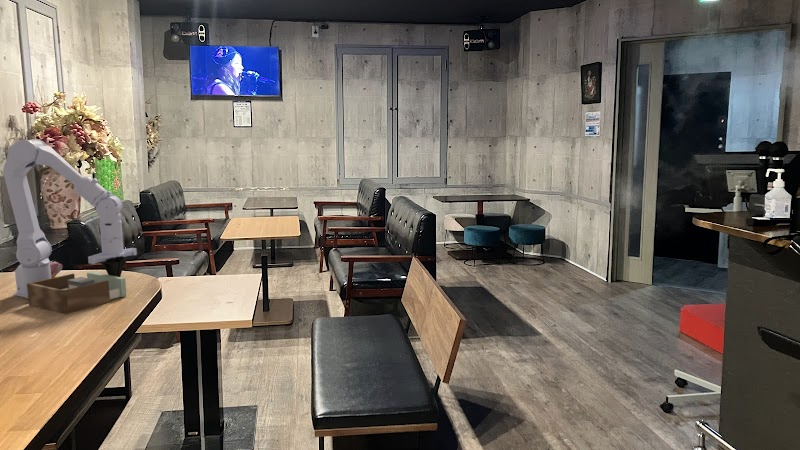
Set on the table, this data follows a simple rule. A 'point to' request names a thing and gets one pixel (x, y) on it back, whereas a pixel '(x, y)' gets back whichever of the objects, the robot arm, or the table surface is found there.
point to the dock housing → (66, 294)
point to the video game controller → (55, 268)
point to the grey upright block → (79, 282)
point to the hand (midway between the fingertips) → (115, 283)
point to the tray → (110, 284)
